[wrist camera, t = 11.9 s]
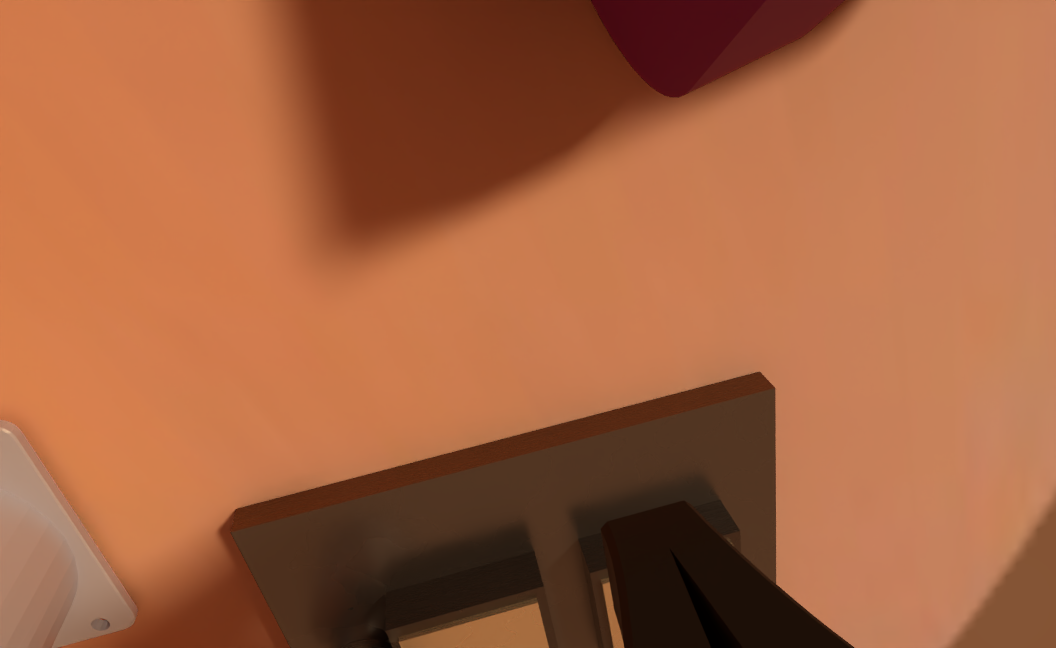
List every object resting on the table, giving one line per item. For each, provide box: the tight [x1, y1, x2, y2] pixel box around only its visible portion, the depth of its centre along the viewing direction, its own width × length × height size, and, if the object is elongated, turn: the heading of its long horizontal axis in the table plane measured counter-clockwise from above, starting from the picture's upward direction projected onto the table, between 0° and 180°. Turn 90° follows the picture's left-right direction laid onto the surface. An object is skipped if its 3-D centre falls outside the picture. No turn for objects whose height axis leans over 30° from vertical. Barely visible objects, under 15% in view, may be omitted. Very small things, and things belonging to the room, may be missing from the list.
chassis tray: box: [231, 372, 776, 648], centre depth 24 cm, size 17×14×3 cm
